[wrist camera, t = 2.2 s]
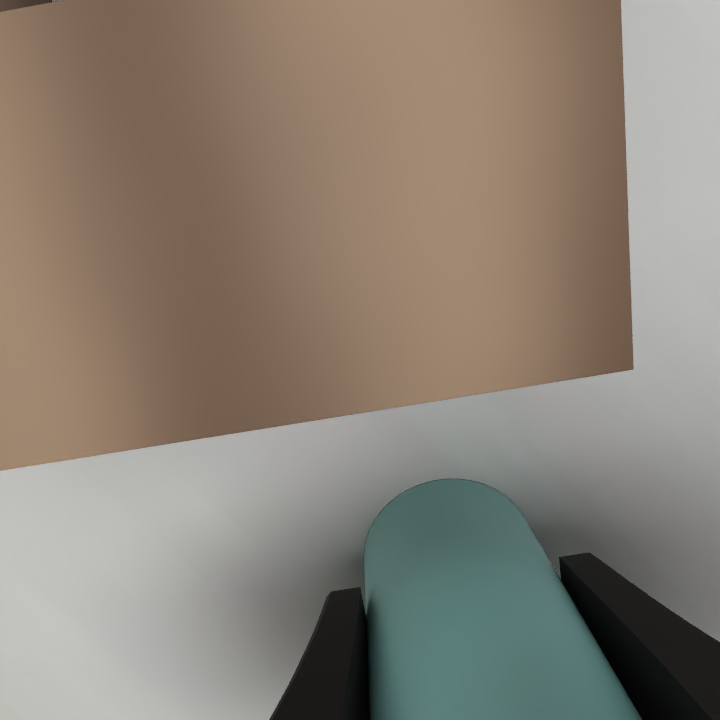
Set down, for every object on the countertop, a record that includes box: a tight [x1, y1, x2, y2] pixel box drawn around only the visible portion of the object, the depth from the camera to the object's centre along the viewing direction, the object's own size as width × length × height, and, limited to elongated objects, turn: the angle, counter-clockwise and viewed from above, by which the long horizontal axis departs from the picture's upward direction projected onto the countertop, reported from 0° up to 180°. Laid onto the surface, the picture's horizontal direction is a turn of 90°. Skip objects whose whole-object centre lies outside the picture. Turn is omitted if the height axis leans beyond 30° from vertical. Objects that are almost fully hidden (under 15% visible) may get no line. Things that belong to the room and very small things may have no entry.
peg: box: [364, 479, 642, 720], centre depth 9 cm, size 4×4×7 cm
